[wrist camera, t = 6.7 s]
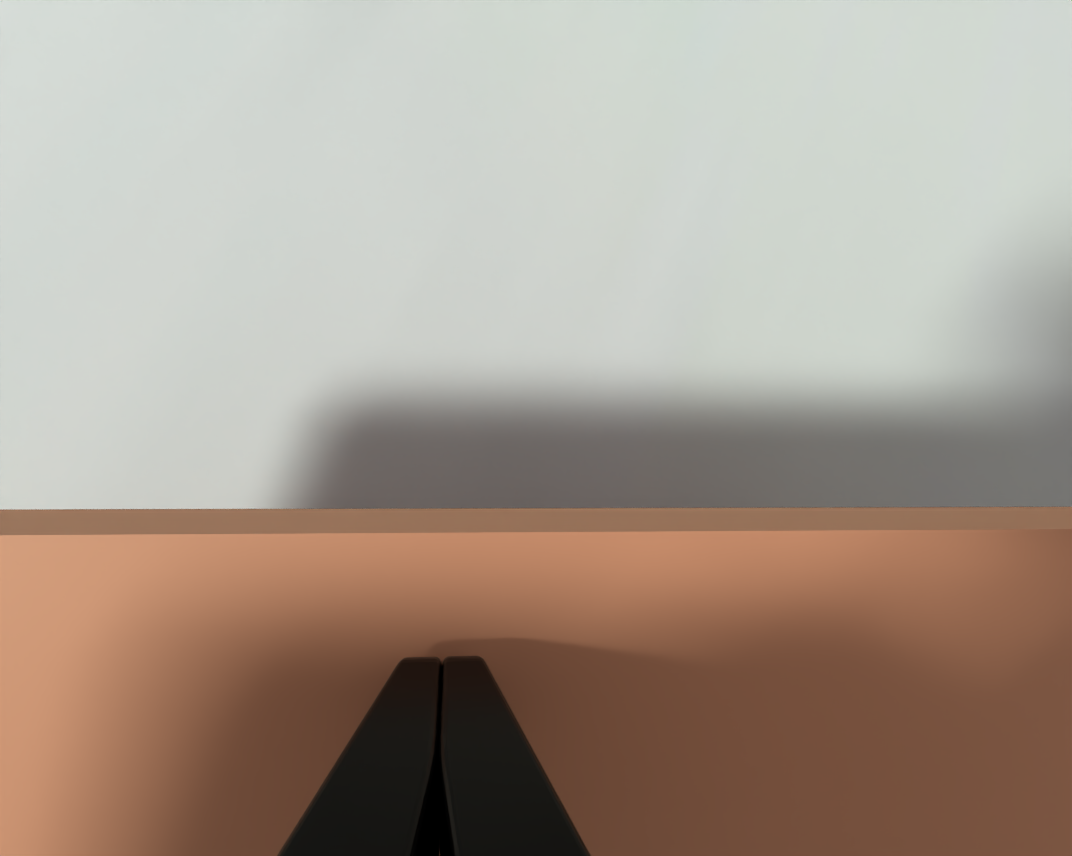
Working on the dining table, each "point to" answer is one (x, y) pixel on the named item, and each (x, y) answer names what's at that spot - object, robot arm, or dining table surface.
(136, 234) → the dining table surface
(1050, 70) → the dining table surface
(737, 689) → the panel
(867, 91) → the dining table surface
